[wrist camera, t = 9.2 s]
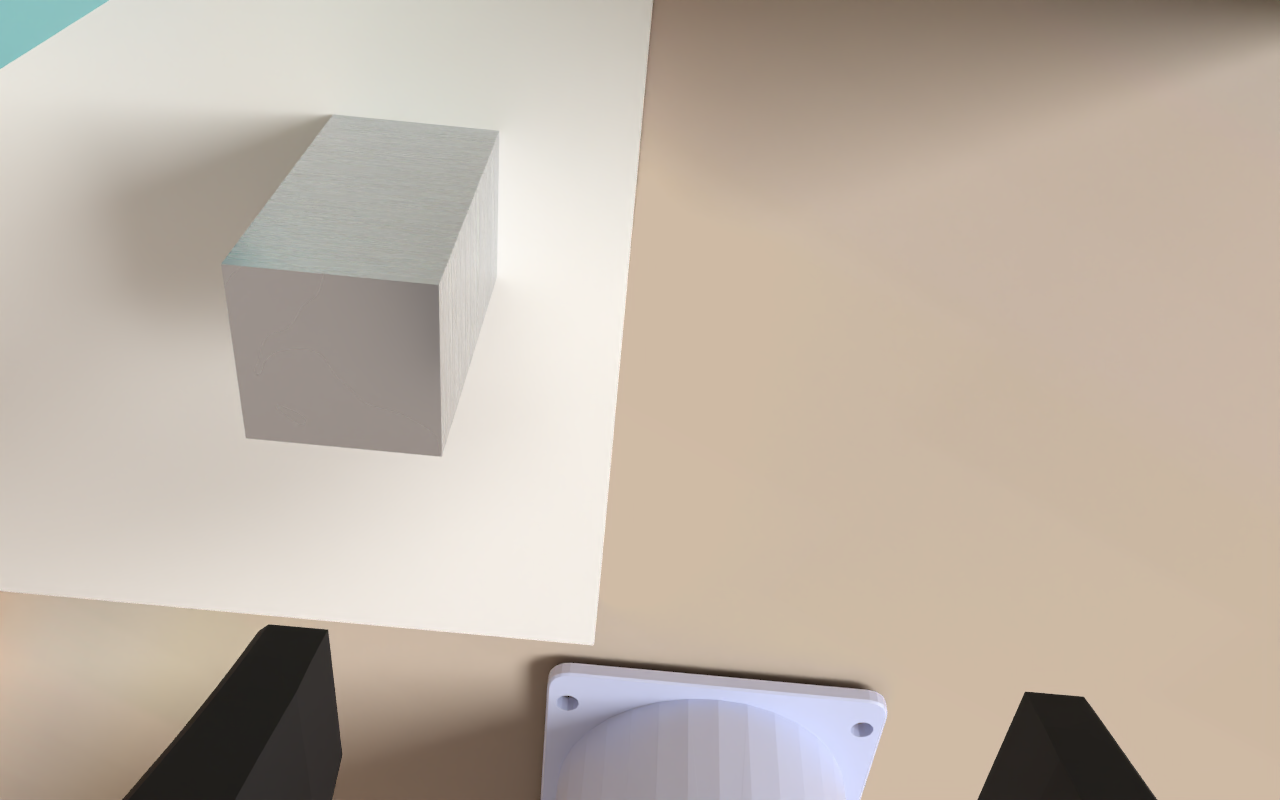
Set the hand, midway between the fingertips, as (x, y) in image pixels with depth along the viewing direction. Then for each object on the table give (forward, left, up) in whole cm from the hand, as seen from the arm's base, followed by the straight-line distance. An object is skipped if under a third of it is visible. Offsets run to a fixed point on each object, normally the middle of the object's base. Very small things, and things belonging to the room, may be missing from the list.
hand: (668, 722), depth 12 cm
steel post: (+1, +4, -9) cm, 10 cm away
